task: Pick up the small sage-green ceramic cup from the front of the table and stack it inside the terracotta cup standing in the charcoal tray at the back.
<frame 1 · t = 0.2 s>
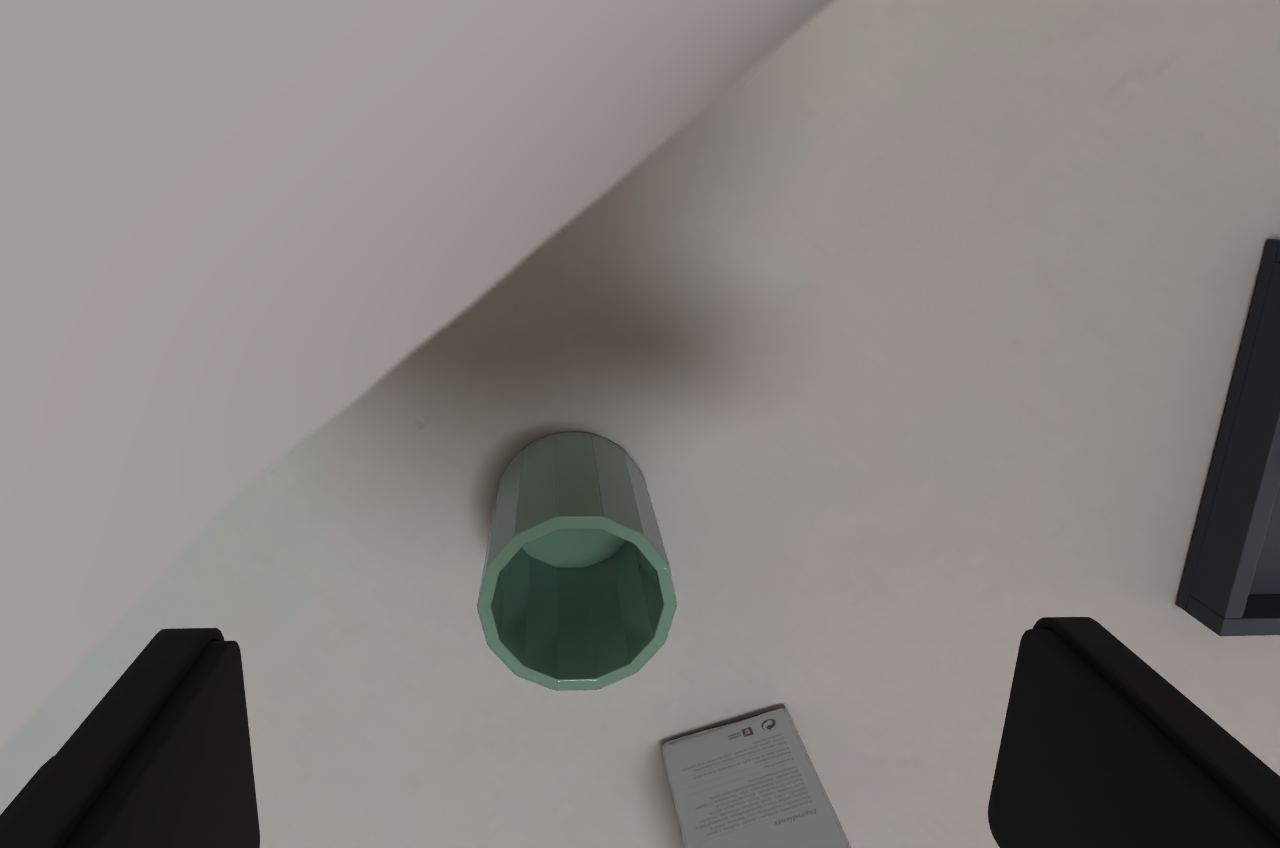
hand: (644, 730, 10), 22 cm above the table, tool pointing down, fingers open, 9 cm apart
sage cup: (572, 502, 33), on the table
cosmetic box: (747, 792, 38), on the table
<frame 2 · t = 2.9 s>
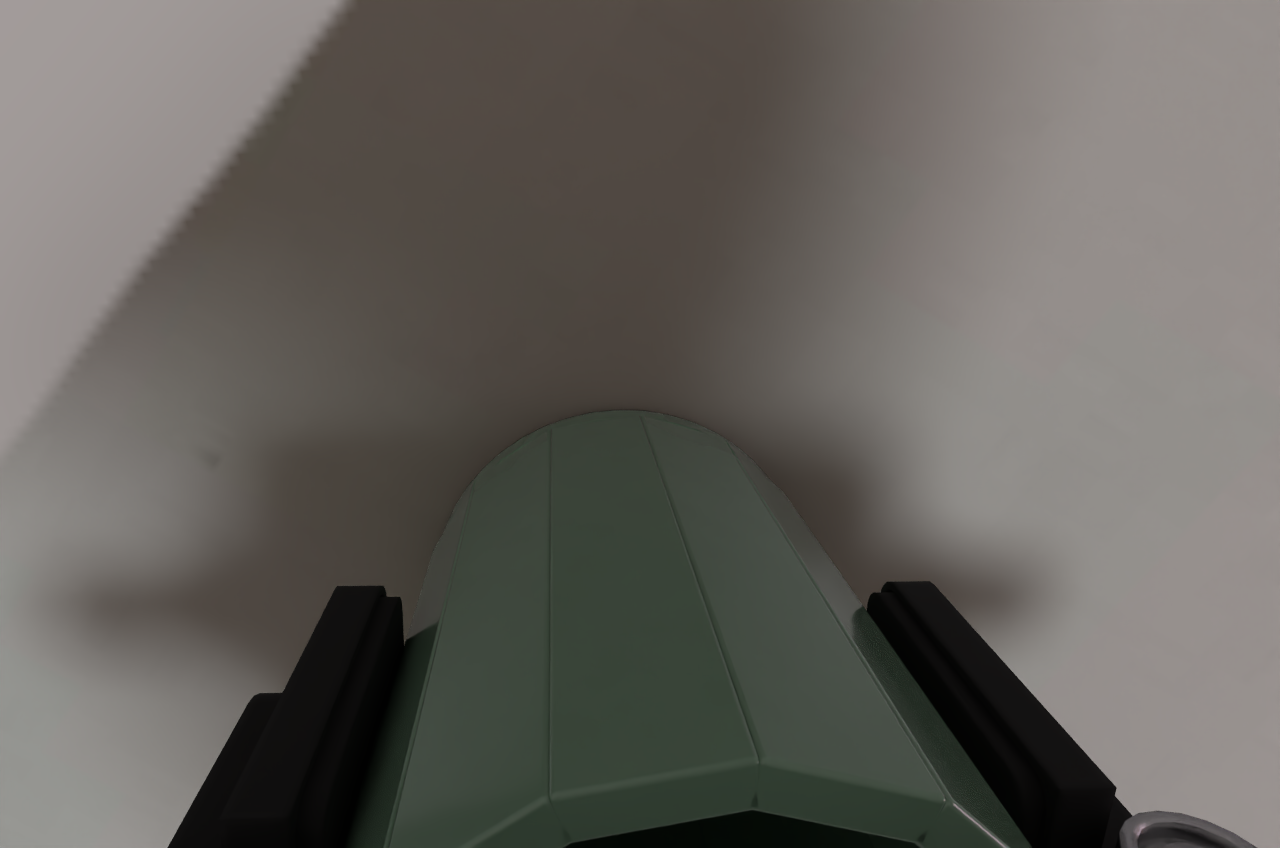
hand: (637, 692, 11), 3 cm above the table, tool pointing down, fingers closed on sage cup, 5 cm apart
sage cup: (620, 582, 14), on the table, touching gripper
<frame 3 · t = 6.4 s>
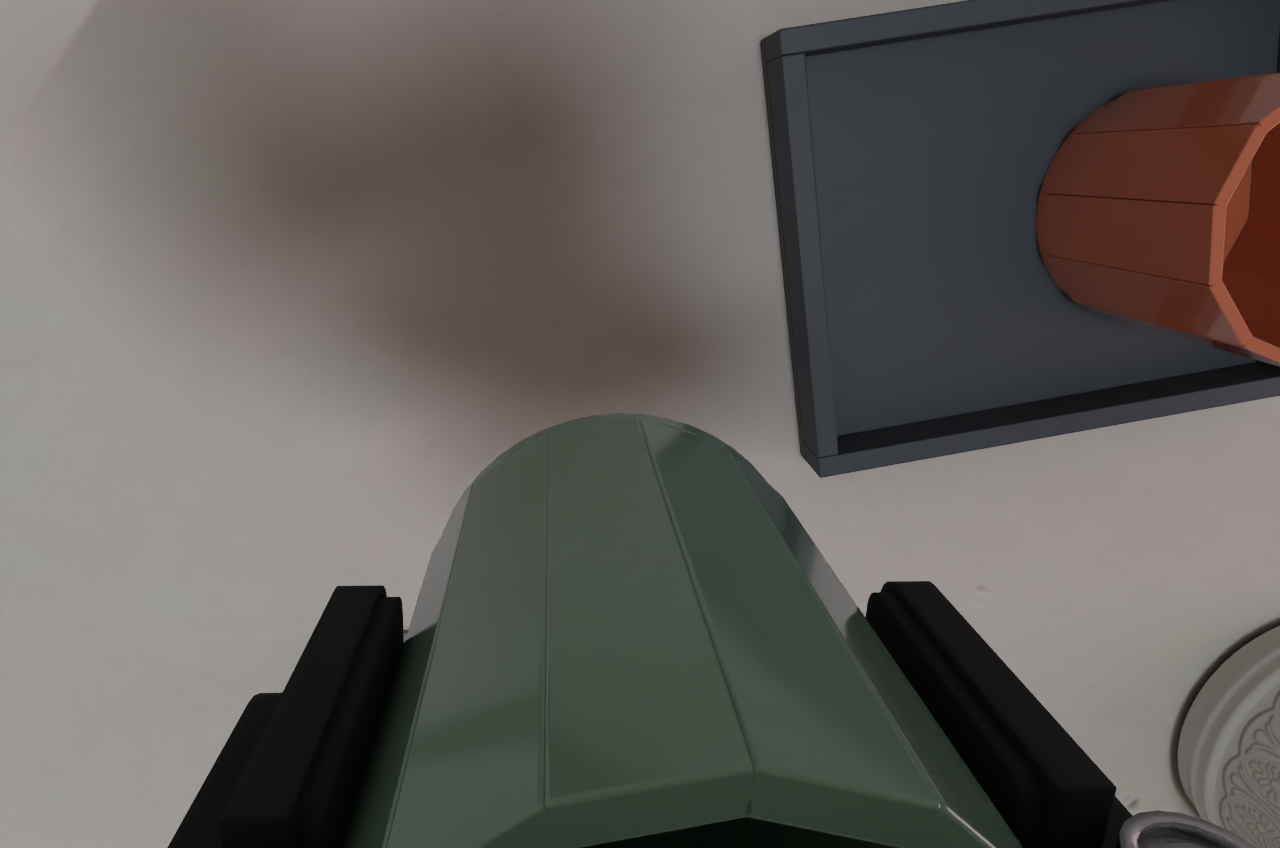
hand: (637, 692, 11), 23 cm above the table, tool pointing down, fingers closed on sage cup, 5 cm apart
sage cup: (618, 585, 14), point 20 cm above the table, touching gripper
terracotta cup: (1142, 205, 32), point 1 cm above the table, touching tray
tray: (1032, 221, 33), on the table
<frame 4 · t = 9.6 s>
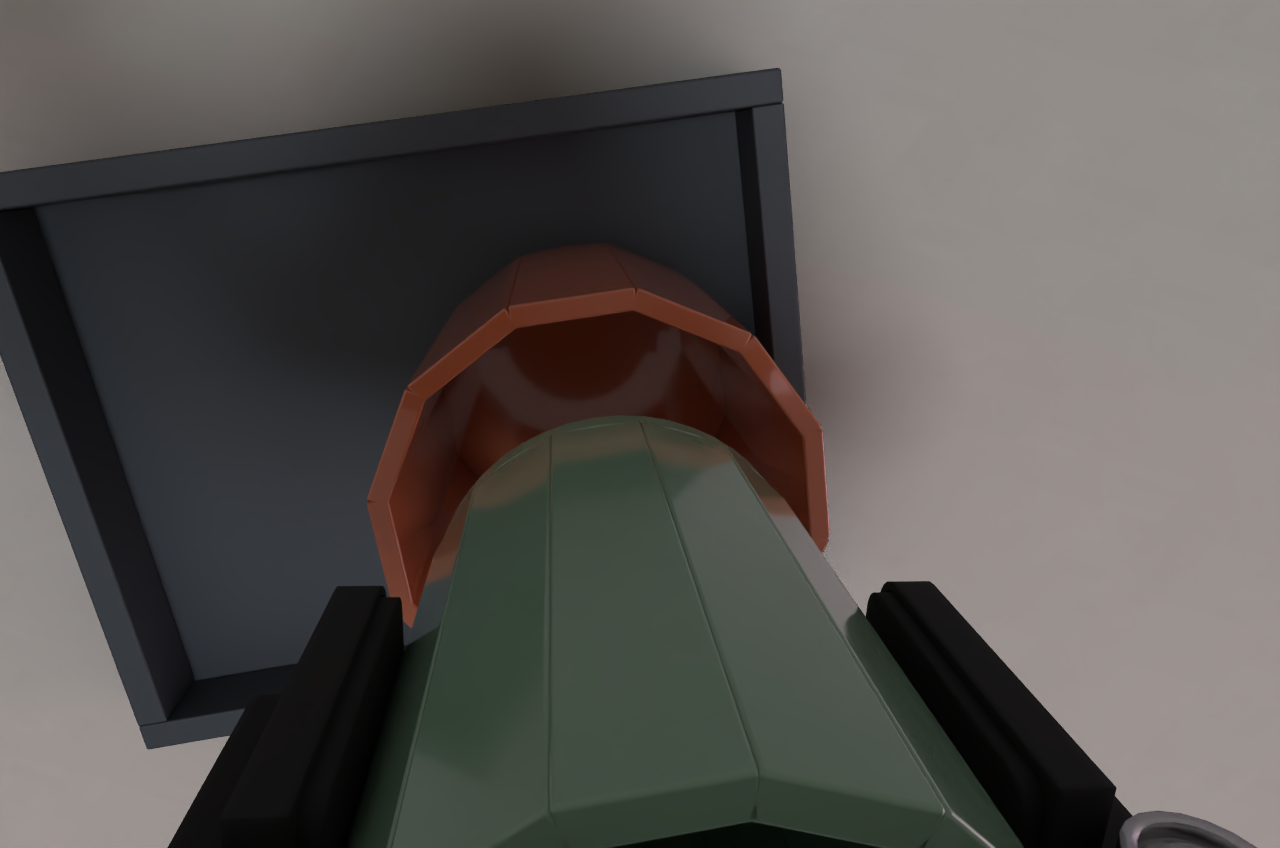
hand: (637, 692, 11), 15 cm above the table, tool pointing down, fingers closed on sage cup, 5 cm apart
sage cup: (620, 587, 14), point 12 cm above the table, touching gripper
terracotta cup: (586, 393, 24), point 1 cm above the table, touching tray
tray: (448, 409, 25), on the table
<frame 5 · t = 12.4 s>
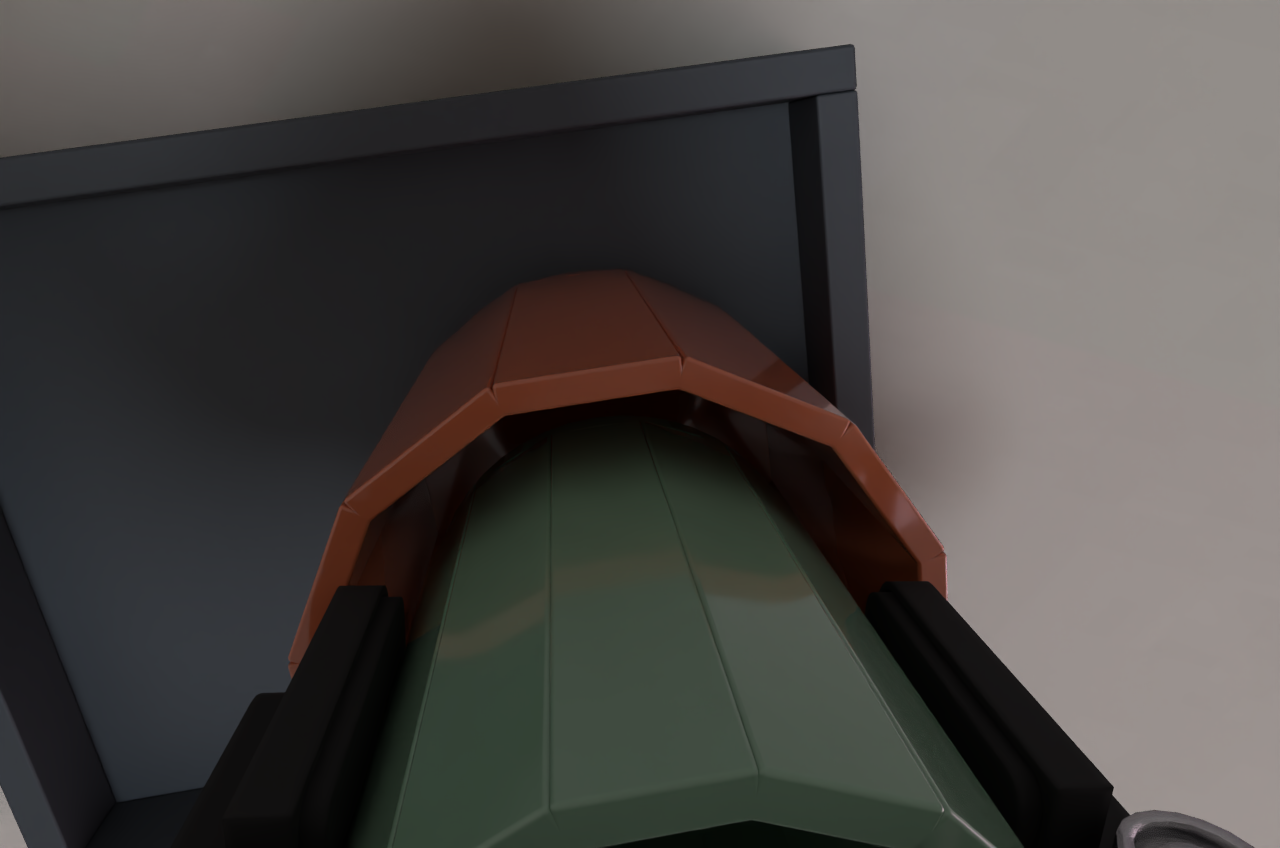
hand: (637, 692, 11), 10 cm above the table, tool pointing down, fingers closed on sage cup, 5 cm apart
sage cup: (620, 587, 14), point 7 cm above the table, touching gripper
terracotta cup: (598, 454, 20), point 1 cm above the table, touching tray
tray: (427, 472, 20), on the table
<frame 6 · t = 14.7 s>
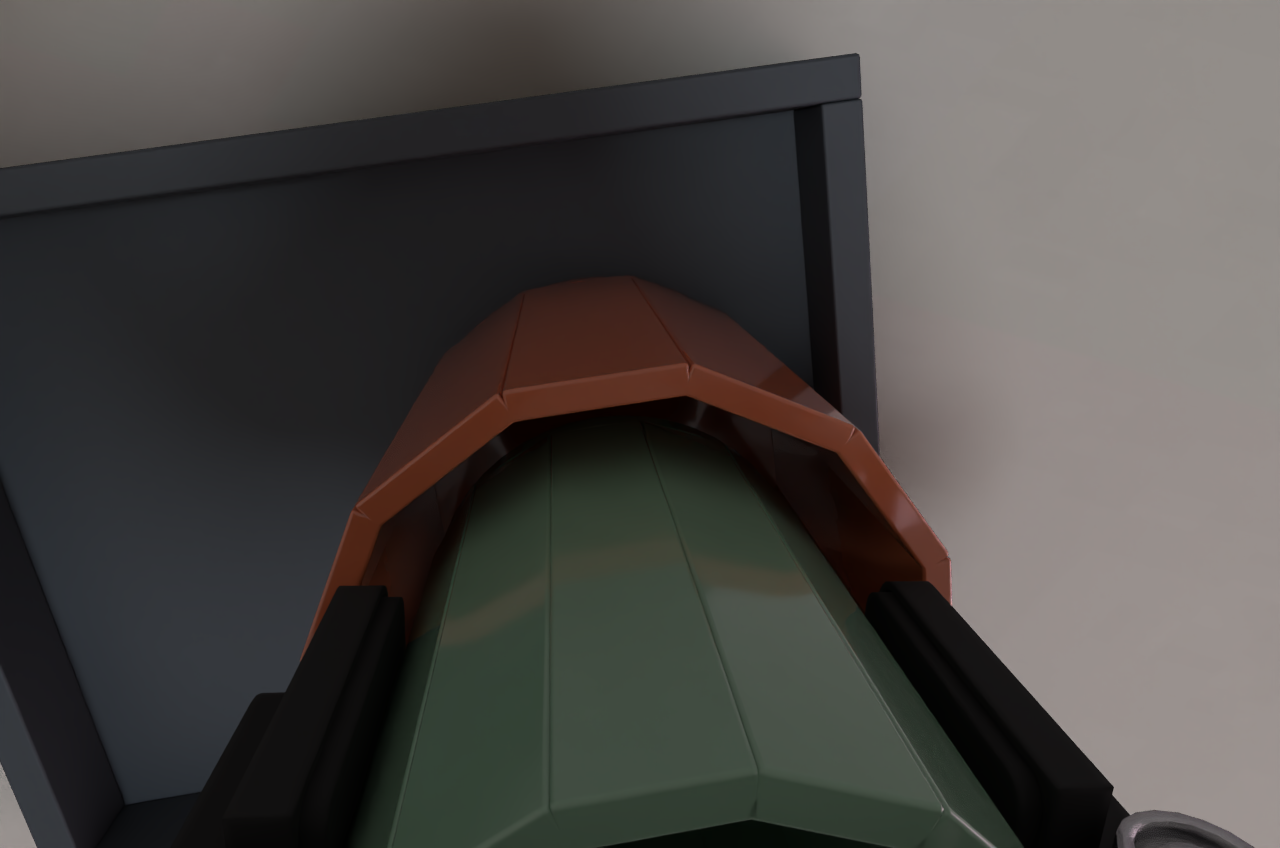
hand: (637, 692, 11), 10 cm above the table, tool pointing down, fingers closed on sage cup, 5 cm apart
sage cup: (620, 587, 14), point 7 cm above the table, touching gripper
terracotta cup: (604, 459, 20), point 1 cm above the table, touching tray
tray: (434, 477, 20), on the table
when the fingers open (10 cm above the table, at t = 16.3 s): sage cup drops 6 cm, resting on terracotta cup.
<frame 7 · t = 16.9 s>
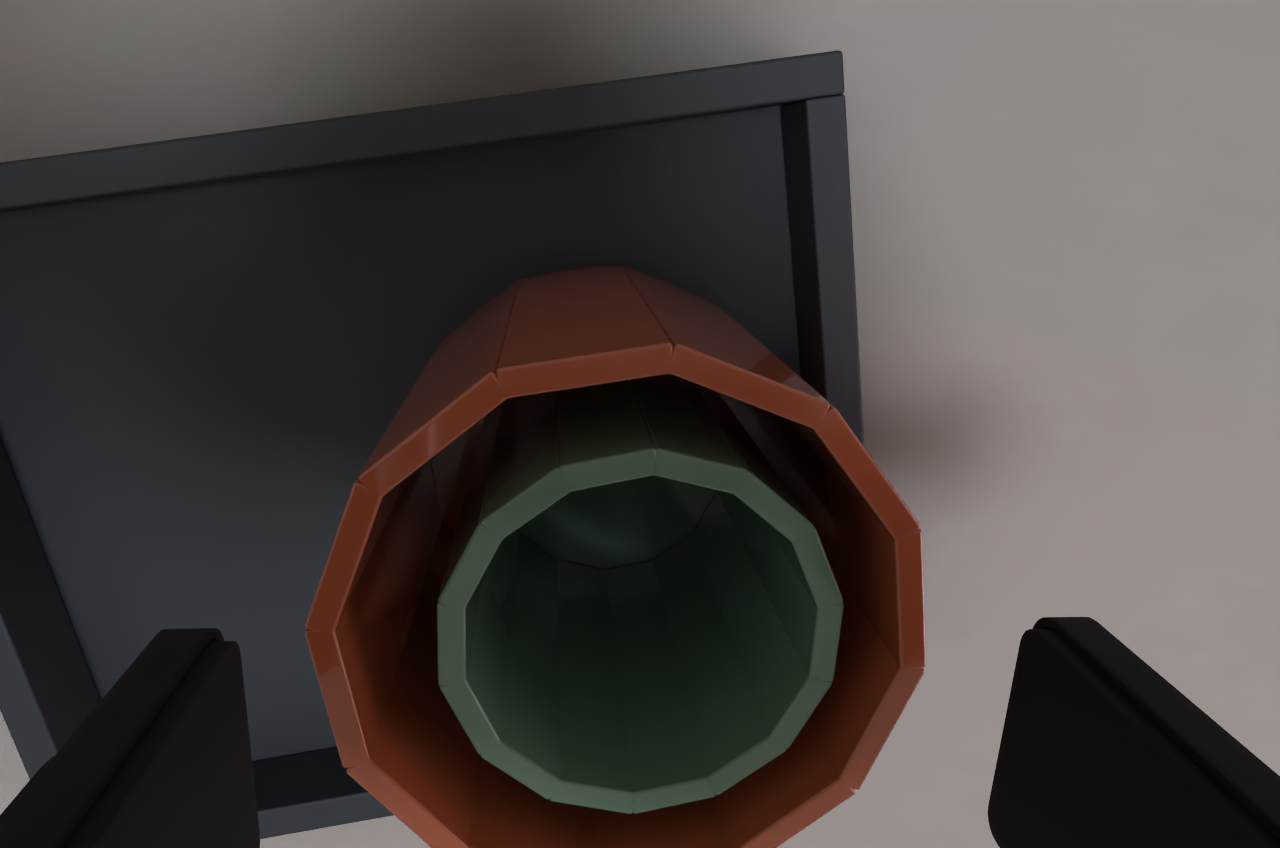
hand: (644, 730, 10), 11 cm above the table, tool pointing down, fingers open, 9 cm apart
sage cup: (608, 458, 20), point 1 cm above the table, touching terracotta cup
terracotta cup: (597, 444, 20), point 1 cm above the table, touching sage cup, tray
tray: (433, 462, 21), on the table
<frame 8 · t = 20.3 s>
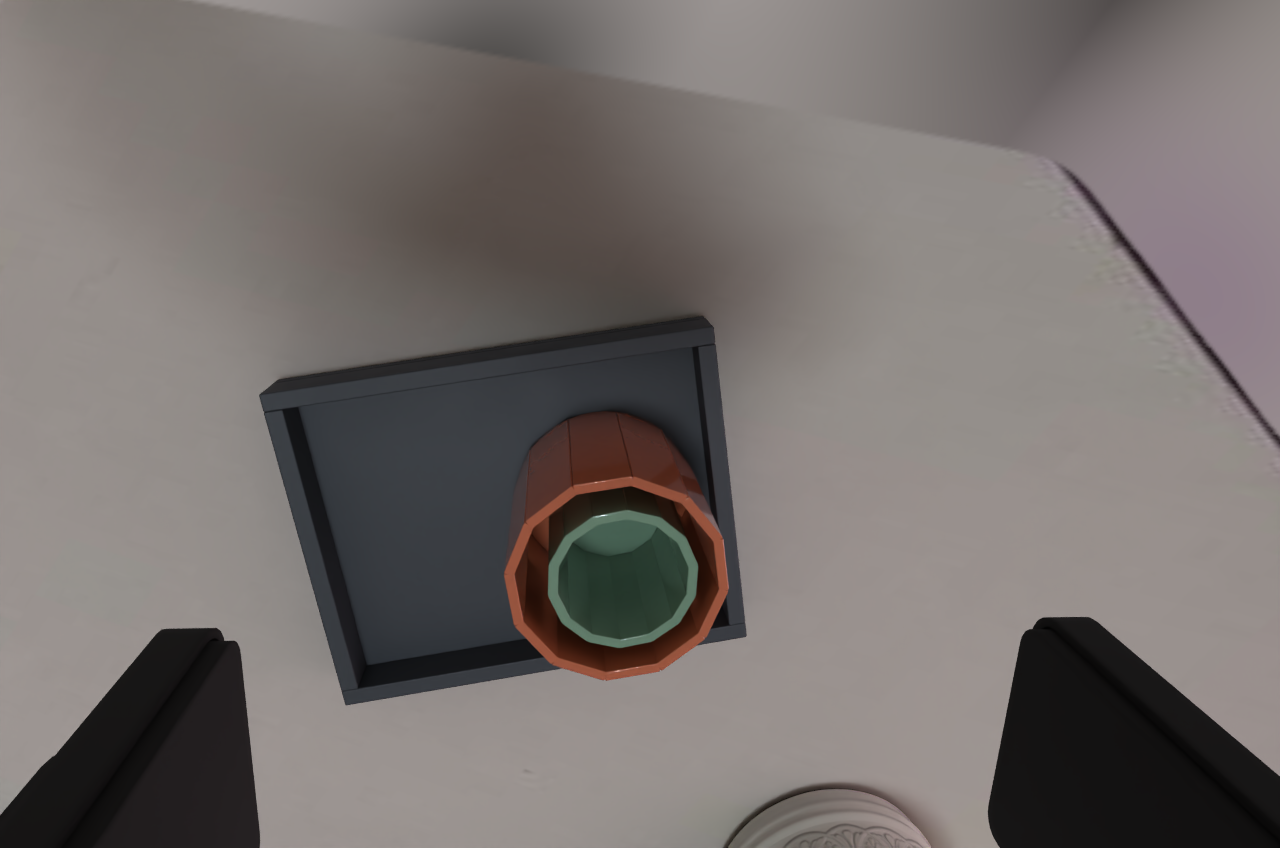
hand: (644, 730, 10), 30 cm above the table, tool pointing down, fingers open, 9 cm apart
sage cup: (610, 502, 41), point 1 cm above the table, touching terracotta cup
terracotta cup: (604, 494, 41), point 1 cm above the table, touching sage cup, tray
tray: (522, 503, 41), on the table
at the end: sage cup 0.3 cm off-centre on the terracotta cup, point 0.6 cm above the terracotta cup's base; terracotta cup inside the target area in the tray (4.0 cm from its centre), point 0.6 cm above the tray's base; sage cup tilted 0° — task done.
